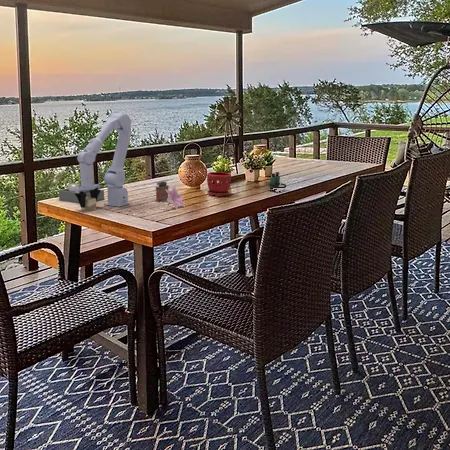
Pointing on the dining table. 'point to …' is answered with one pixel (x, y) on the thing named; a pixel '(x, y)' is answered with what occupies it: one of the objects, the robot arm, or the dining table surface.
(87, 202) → the maple cube
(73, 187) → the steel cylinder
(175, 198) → the lily
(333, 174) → the dining table surface
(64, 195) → the tote
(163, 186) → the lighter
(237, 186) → the dining table surface
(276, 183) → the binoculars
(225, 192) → the plant pot
